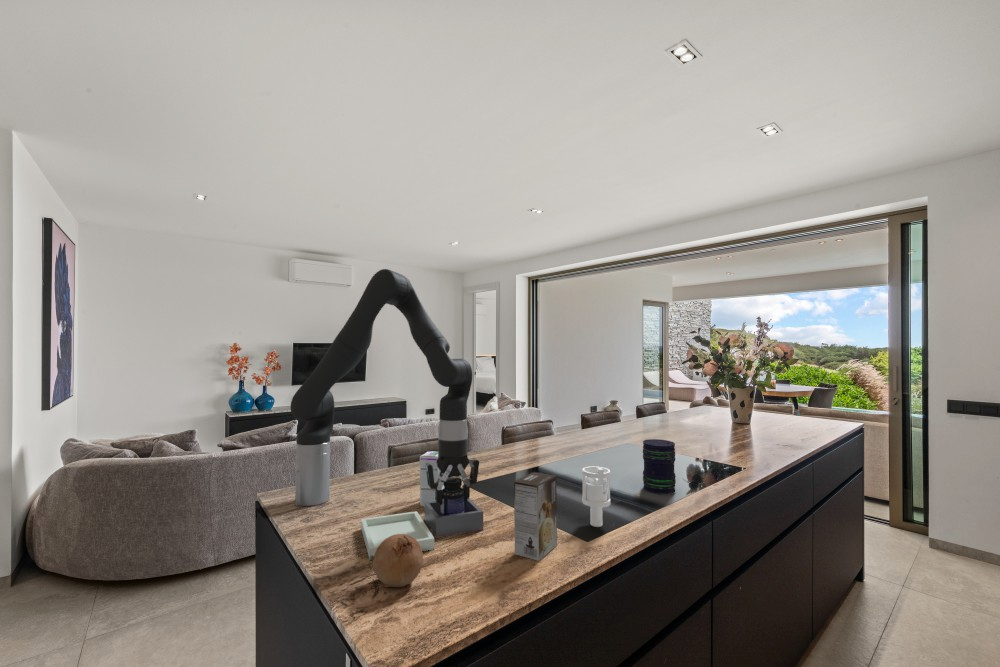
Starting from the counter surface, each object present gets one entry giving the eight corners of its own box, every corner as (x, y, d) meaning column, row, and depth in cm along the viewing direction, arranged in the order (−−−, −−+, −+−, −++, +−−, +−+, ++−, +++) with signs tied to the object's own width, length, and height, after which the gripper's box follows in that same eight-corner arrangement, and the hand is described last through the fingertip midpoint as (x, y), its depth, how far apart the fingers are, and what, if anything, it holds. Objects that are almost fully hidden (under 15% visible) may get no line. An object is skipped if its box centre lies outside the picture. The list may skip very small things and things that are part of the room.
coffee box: (533, 539, 107) (532, 471, 107) (557, 545, 104) (557, 475, 104) (513, 554, 99) (513, 480, 100) (539, 562, 96) (539, 485, 96)
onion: (411, 605, 85) (423, 566, 82) (362, 593, 84) (372, 553, 81) (421, 564, 94) (432, 527, 91) (376, 553, 93) (386, 515, 90)
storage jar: (638, 490, 143) (638, 443, 143) (648, 482, 151) (647, 438, 152) (671, 496, 137) (670, 447, 138) (679, 488, 145) (678, 441, 146)
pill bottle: (468, 521, 117) (469, 478, 117) (456, 529, 112) (457, 484, 112) (448, 517, 120) (448, 475, 120) (435, 525, 114) (436, 481, 115)
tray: (369, 561, 96) (370, 549, 96) (361, 529, 113) (361, 519, 113) (434, 549, 101) (434, 538, 102) (416, 520, 118) (416, 511, 118)
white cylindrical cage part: (588, 530, 112) (587, 469, 112) (578, 519, 119) (578, 462, 119) (615, 529, 113) (614, 468, 113) (604, 518, 120) (603, 461, 120)
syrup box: (439, 508, 128) (439, 456, 128) (419, 506, 129) (419, 455, 129) (445, 501, 133) (445, 451, 134) (426, 499, 134) (426, 450, 135)
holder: (436, 537, 108) (436, 518, 108) (424, 519, 119) (424, 502, 119) (483, 529, 112) (483, 511, 113) (467, 513, 124) (467, 496, 124)
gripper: (474, 431, 123) (474, 494, 122) (422, 435, 117) (421, 501, 117) (484, 437, 116) (483, 503, 115) (429, 441, 110) (428, 511, 110)
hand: (452, 502), depth 116 cm, fingers closed on pill bottle, 6 cm apart
